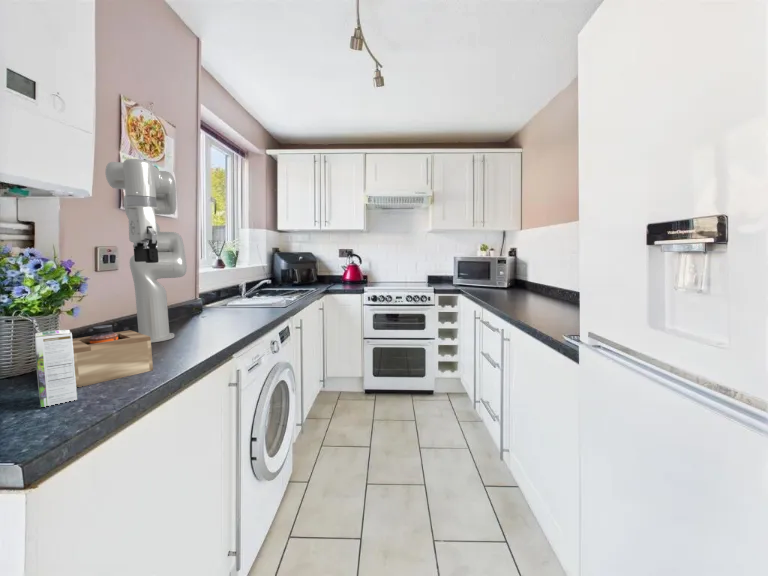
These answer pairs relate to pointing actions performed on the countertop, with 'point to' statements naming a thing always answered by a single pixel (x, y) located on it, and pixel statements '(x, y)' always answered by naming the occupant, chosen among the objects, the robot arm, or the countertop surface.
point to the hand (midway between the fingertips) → (146, 262)
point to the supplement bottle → (103, 334)
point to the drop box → (111, 358)
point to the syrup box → (55, 367)
